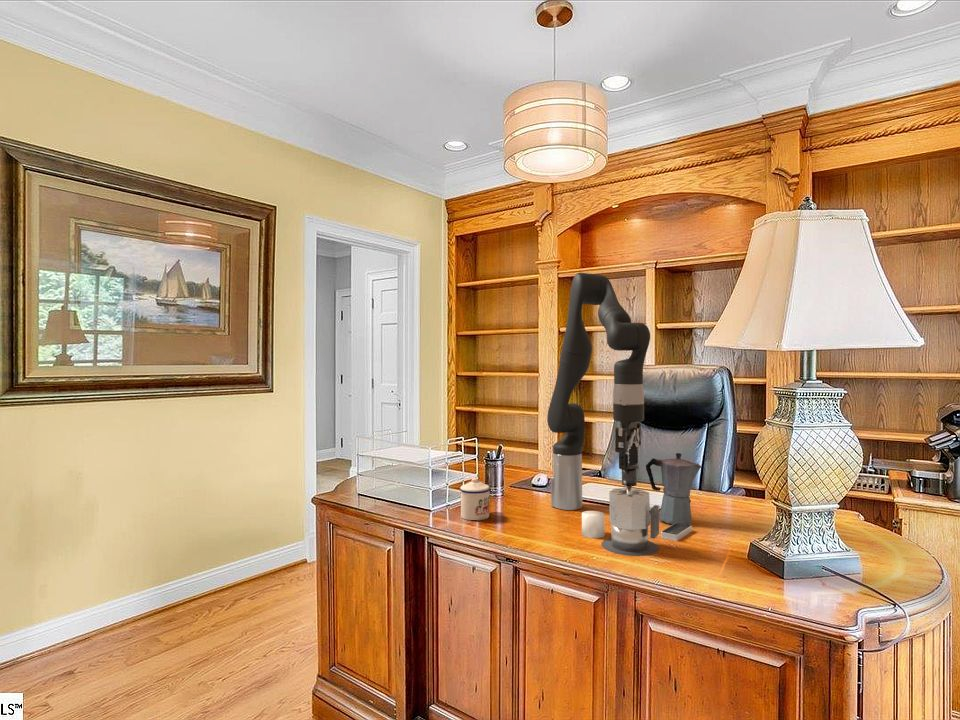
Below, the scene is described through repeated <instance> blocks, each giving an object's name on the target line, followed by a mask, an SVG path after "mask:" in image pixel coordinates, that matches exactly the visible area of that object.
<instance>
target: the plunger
mask: <svg viewBox="0 0 960 720" xmlns="http://www.w3.org/2000/svg"><path fill="white" fill-rule="evenodd" d="M637 469H639V464H638V463H636V464H634V463H629V468H628V469H627V470H623V469H621V486H625V487H626V488H627V495H632V488H633V487H636V486H637V485H638V484H637V483H638V482H637V481H638V479H637V478H638V477H637V476H638V475H637Z"/></svg>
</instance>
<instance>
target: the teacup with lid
mask: <svg viewBox="0 0 960 720" xmlns="http://www.w3.org/2000/svg"><path fill="white" fill-rule="evenodd" d="M459 491H460V518H462V519H463V520H466V521H471V520H478V521H483V520H484V521H485V520H487V519H488V518H489V517H490V498H491V492H490V491H491V488H490V486H489V485H488V484H486V483H483V482H481V481H479V478H478V477H473V478H471V481H469V482H467V483H465V484H462V485H461V486H460V488H459Z"/></svg>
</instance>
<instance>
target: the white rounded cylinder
mask: <svg viewBox="0 0 960 720" xmlns="http://www.w3.org/2000/svg"><path fill="white" fill-rule="evenodd" d="M605 524H606V523H605V513H603V512H602V511H598V510H586V511H582V512H581V536H583V537H584V538H589V539H601V538H604V537H605V536H606V534H605V531H606V530H605V528H606V527H605V526H606V525H605Z"/></svg>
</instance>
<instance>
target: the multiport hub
mask: <svg viewBox="0 0 960 720" xmlns="http://www.w3.org/2000/svg"><path fill="white" fill-rule="evenodd" d="M692 532H693V525H691V524H689V525H687V524H682V523H675V524H670V526H668V527H666V528H665V529H663V530H661V531H660V538H661V539H665V540H669V541H675V542H678V541H680V540H681V539H683V538H684V537H685V536H687V535H689V534H690V533H692Z"/></svg>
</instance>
